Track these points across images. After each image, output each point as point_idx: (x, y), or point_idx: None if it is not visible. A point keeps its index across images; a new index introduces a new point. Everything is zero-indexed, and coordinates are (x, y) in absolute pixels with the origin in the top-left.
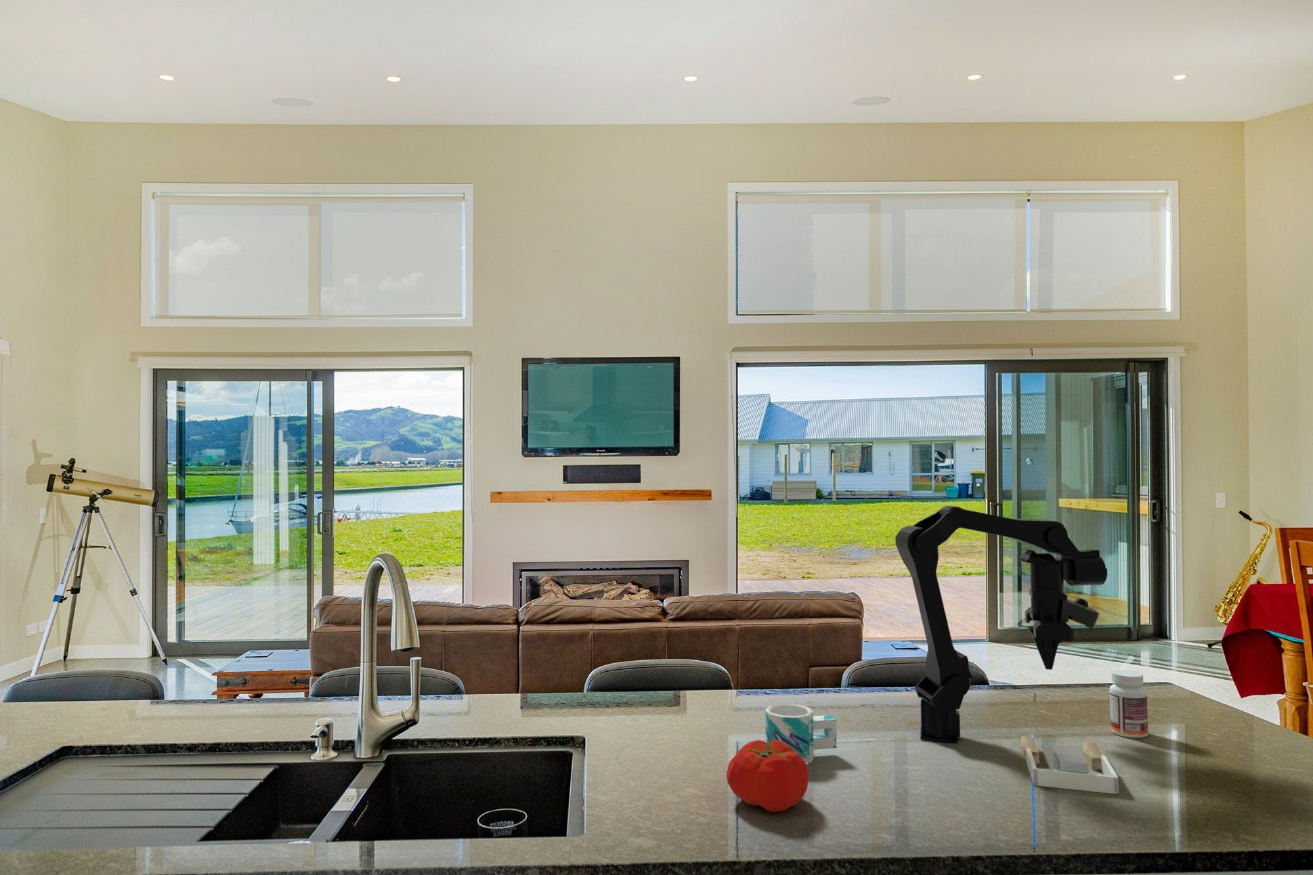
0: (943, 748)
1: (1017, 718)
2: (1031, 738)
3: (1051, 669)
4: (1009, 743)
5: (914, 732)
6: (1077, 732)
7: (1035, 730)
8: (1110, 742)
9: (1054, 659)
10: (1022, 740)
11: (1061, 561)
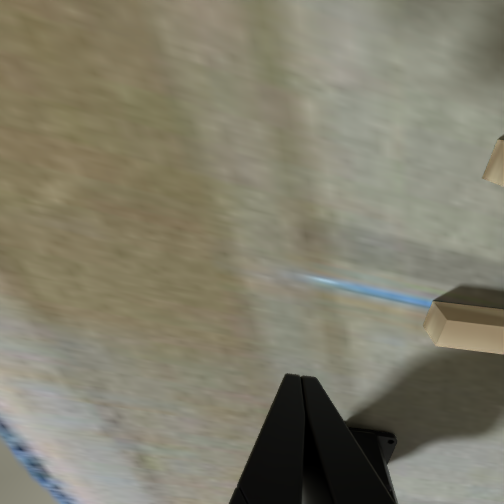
0: (424, 455)
1: (161, 280)
2: (455, 326)
3: (315, 378)
4: (388, 342)
5: None
6: (263, 137)
7: (266, 259)
8: (365, 41)
9: (356, 443)
10: (470, 349)
11: None
